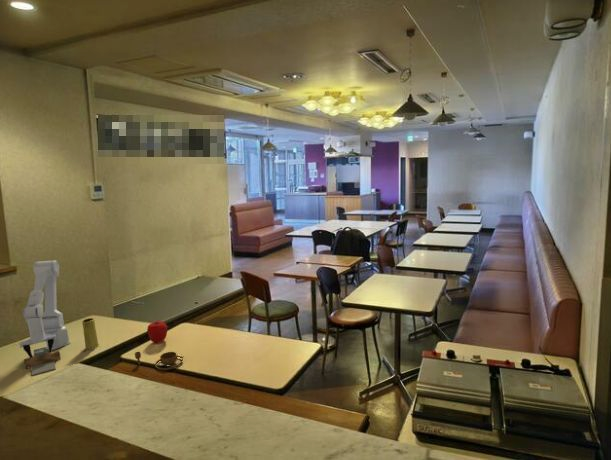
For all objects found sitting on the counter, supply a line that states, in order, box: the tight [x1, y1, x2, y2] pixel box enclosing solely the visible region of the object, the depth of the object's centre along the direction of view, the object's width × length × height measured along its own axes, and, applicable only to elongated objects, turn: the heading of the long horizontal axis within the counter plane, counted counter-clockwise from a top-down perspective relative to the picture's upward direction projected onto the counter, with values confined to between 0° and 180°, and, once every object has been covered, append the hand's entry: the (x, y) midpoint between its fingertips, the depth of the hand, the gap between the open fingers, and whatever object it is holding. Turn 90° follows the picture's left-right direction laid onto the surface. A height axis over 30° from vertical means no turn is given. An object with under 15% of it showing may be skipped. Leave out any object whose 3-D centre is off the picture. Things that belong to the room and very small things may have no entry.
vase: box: [81, 317, 100, 350], centre depth 209 cm, size 6×6×14 cm
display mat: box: [31, 361, 57, 377], centre depth 190 cm, size 9×9×1 cm
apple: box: [147, 320, 168, 344], centre depth 211 cm, size 10×10×11 cm
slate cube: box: [33, 346, 48, 357], centre depth 198 cm, size 5×5×5 cm
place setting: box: [134, 351, 184, 371], centre depth 189 cm, size 18×20×6 cm
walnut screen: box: [23, 350, 61, 369], centre depth 195 cm, size 14×2×4 cm, turn 123°
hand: (41, 357), depth 198 cm, fingers open, 7 cm apart
